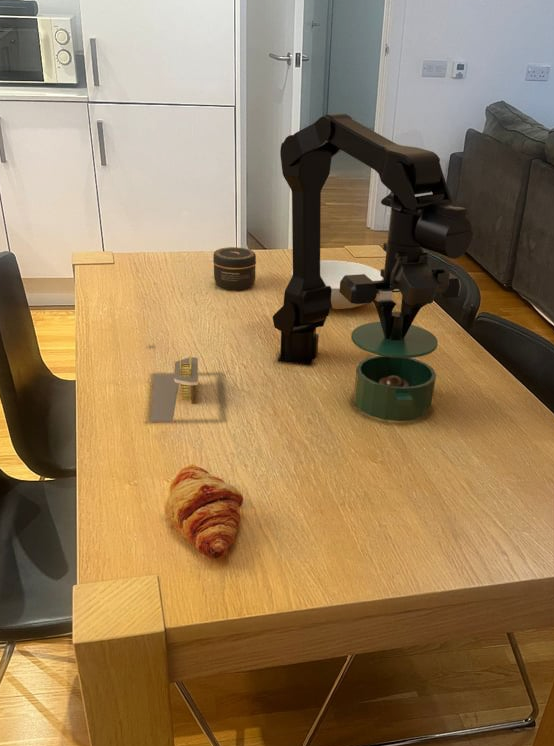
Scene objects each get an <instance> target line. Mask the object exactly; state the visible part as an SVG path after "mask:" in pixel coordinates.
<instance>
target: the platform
mask: <svg viewBox="0 0 554 746" xmlns="http://www.w3.org/2000/svg"><path fill="white" fill-rule="evenodd" d="M198 360H199V358H198V357H196V356H195V357H193V356H192V354H189V355H188V357H186V358H180V359H179V360H177V361H174V370H173V373H167V374H166V373H157V374H156V373H155V374H153V386H152V394H151V395H152V396H151V405H150V417H149V422H150V423H152V422H153V423H154V422H155V423H156V422H157V423H158V422H159V423H160V422H161V423H162V422H174V415H175V410H176V405H177V404H176V403H177V397H178V393H179V385H180V392H181V401H191V405H193V403H194V399H193V398H194V396H193V395H194V392H193V391H194V390H193V388H194V386H198V385H199V362H198Z"/></svg>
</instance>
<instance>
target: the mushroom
mask: <svg viewBox="0 0 554 746" xmlns="http://www.w3.org/2000/svg"><path fill="white" fill-rule="evenodd" d="M379 383H380V384H384V385H388V386H397V387H409V384H408V382H407V381H406V380H404V379H401V378H400V377H399V376H396V375H391V376H388V377H385V378H382V379H380V380H379Z"/></svg>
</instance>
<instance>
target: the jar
mask: <svg viewBox="0 0 554 746" xmlns="http://www.w3.org/2000/svg"><path fill="white" fill-rule="evenodd" d="M212 263H213V279H214V283H215V285H216V286H217V288H220V289H222V290H224V291H230V292H242V291H247V290H249V289H251V288H253V286H254V284H255V281H256V265H257V255H256V252H254V250H252V249H249V248H245V247H239V246H238V247H237V246H229V247H222V248H218V249H216V250H215V251H214V252H213V260H212Z"/></svg>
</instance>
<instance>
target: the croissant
mask: <svg viewBox="0 0 554 746" xmlns="http://www.w3.org/2000/svg"><path fill="white" fill-rule="evenodd" d="M168 494H169V496H168V497H167V499H166V502H165V505H164V513H165V515H166V516H167V518H168V519H169V520H171V524H172V526H173V528H174V530H175V531H176V532H177V533H178V534H179V535H180V536H181V537H182V538H184V539H185V540H186V541H187V542H188V543H190V544H191V545H192V546H193V547H194V548H195V549H196V550H197V551H198V552H199V553H200V554H202V555H204V556H207V557H210V558H215V559H220V558H223V557H224V556H225V555H227V553H228V551H229V547H231V545H232V544H233V543H234V542H235V540H236V533H237V531H238V527H239V525H240V521H241V507H242V506H243V503H244V496H243V494H242V493H241V492H240V491H239V490H238V488H236V487H235V486H234V485H232V484H229V483H227V482H226V481H225V480H223V479H222V478H220V477H218V476H216V475H214V474H211V473H209V472H208V471H207V470H206V469H204V468H203V467H200V466H197V465H196V464H194V463H191V464H190V465H188V466H185V467H182V468H181V469H180V470H179V471H178V473H177V474H176V476H175V477H174V478H173V479H172V480H171V483H170V486H169V493H168Z"/></svg>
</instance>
